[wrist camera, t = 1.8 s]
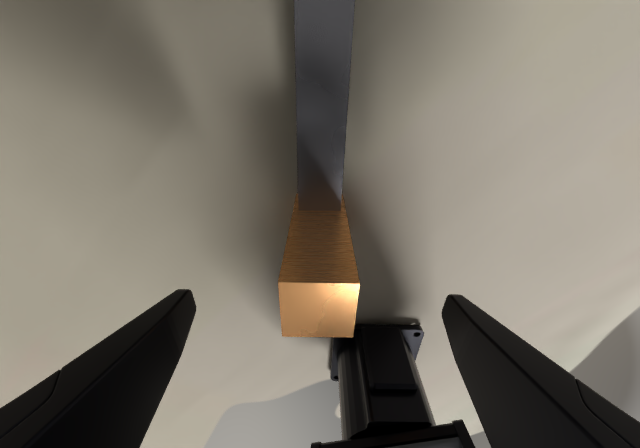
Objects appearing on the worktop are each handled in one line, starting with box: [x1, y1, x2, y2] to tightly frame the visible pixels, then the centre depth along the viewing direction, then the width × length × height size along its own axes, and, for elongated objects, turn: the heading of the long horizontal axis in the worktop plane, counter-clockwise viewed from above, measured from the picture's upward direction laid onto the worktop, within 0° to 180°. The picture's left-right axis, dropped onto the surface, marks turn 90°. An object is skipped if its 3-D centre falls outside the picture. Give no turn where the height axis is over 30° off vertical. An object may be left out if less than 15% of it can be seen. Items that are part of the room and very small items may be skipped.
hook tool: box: [278, 0, 360, 338], centre depth 8 cm, size 16×7×7 cm, turn 179°
